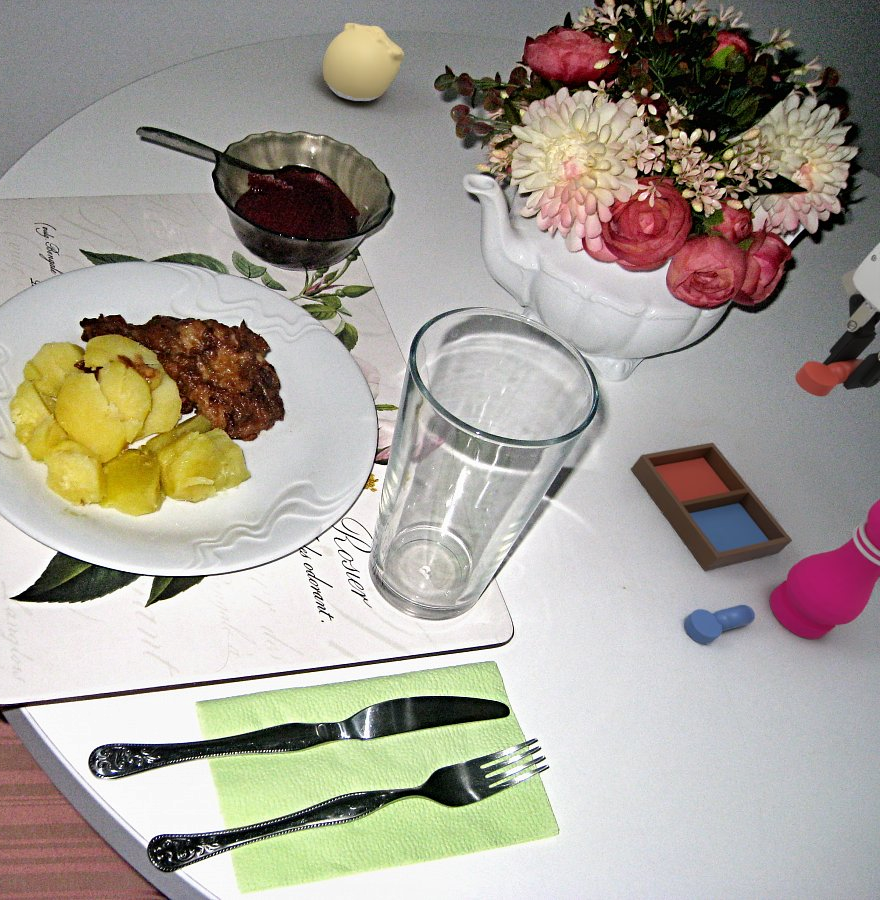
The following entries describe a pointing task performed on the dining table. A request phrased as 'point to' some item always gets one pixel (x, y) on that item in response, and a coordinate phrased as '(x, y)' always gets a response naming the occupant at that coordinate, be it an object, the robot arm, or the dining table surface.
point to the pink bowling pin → (831, 583)
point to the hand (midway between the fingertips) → (845, 374)
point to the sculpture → (361, 61)
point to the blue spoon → (716, 622)
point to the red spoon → (824, 375)
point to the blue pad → (728, 527)
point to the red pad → (698, 485)
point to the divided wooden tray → (689, 527)
